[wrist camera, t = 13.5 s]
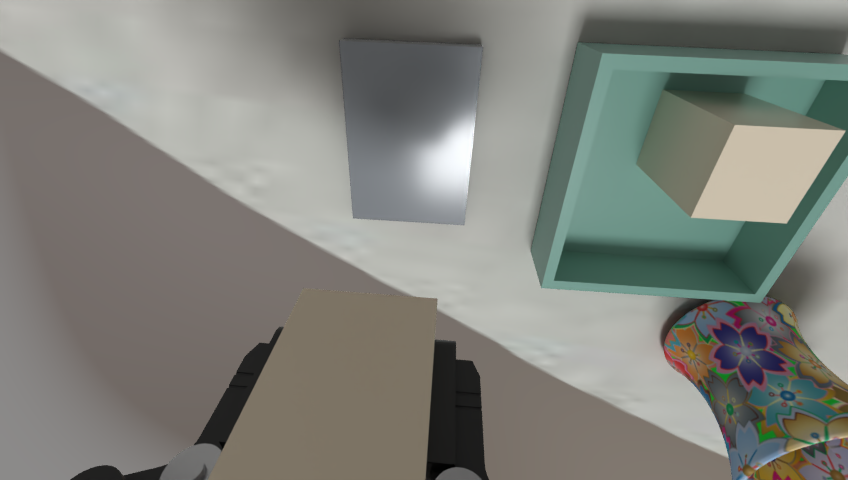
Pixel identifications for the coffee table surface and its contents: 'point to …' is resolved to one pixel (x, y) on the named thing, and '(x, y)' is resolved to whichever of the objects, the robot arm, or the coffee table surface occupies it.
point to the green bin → (645, 201)
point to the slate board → (410, 127)
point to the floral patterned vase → (764, 390)
